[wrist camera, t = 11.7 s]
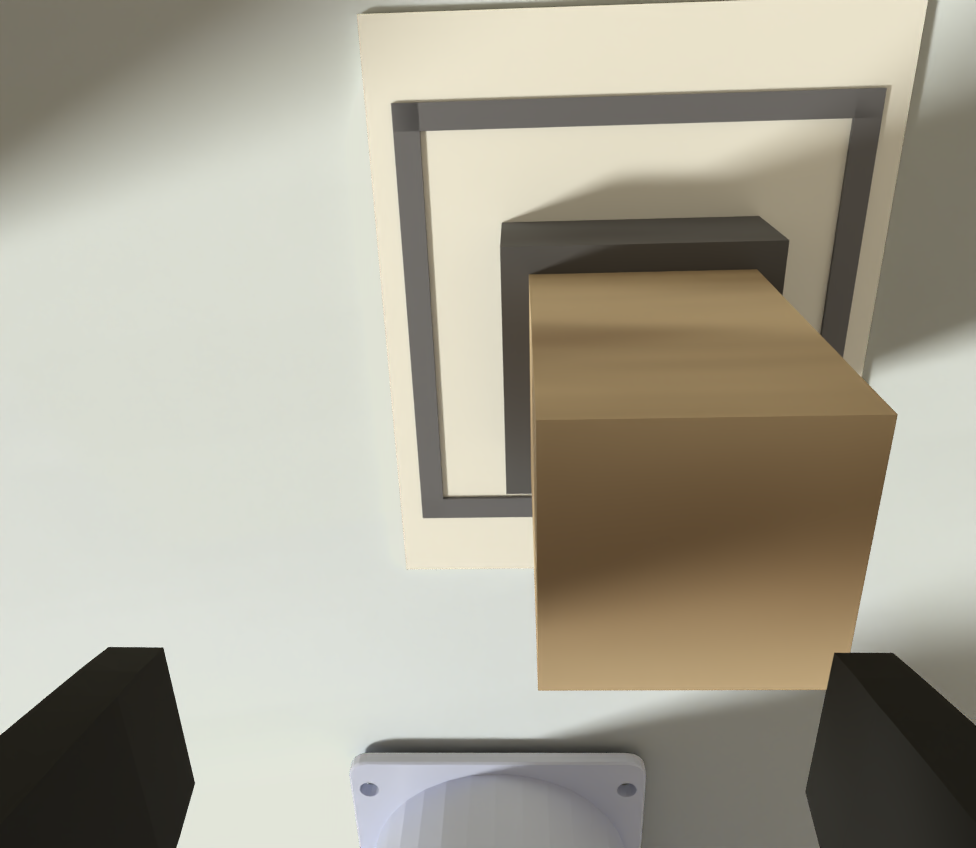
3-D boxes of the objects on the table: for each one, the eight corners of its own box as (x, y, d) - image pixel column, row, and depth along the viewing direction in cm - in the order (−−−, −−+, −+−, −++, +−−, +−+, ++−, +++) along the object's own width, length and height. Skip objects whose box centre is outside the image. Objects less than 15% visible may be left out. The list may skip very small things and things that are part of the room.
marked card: (826, 561, 20) (830, 568, 20) (407, 564, 20) (406, 571, 20) (924, -7, 15) (931, -7, 14) (358, 14, 15) (355, 13, 15)
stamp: (734, 444, 18) (874, 718, 11) (507, 448, 19) (501, 718, 11) (759, 215, 16) (953, 371, 9) (501, 222, 16) (490, 379, 9)
